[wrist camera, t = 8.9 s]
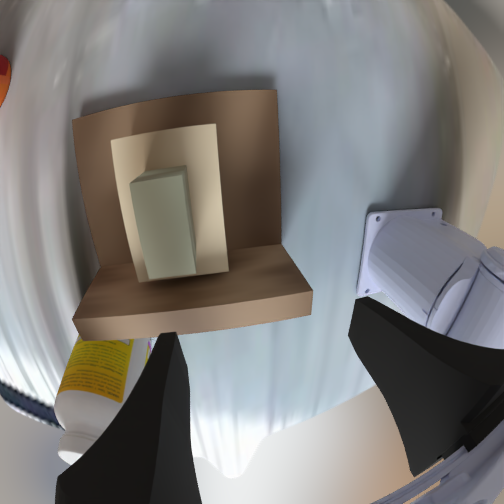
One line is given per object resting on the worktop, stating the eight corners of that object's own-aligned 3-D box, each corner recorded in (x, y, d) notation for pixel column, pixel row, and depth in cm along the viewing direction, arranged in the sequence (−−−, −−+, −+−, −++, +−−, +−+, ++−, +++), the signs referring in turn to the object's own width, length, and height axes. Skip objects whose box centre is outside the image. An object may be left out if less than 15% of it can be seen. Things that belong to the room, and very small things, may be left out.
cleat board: (271, 92, 16) (314, 72, 9) (277, 256, 21) (311, 314, 14) (79, 120, 14) (19, 121, 7) (111, 277, 19) (82, 341, 13)
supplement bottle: (71, 319, 20) (24, 439, 8) (126, 296, 20) (88, 442, 9) (112, 366, 23) (93, 481, 12) (166, 351, 23) (163, 482, 12)
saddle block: (212, 125, 15) (220, 120, 9) (222, 241, 18) (236, 304, 12) (130, 137, 14) (86, 144, 8) (149, 251, 17) (128, 316, 11)
